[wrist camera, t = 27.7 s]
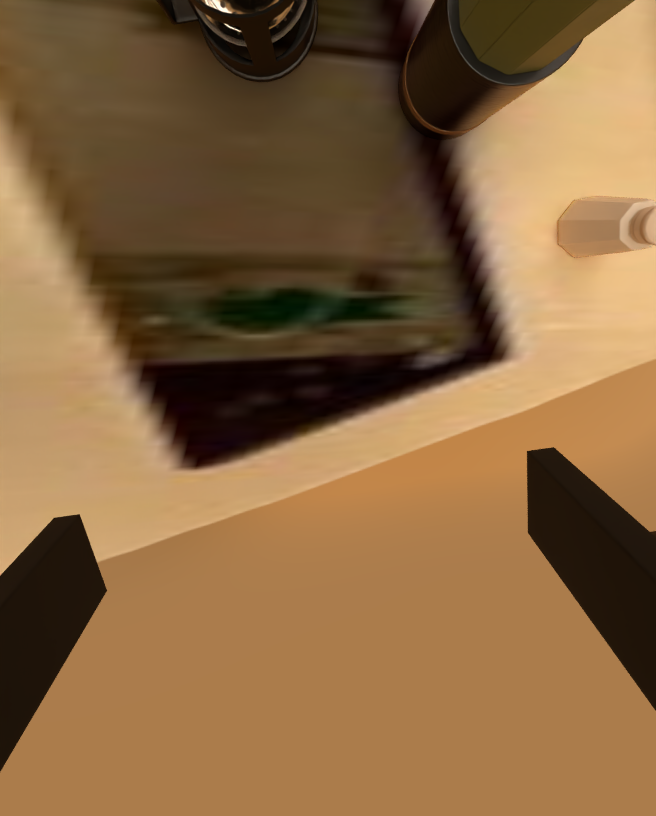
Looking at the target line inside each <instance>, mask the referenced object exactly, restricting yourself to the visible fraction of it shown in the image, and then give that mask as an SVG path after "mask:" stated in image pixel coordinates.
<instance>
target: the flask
mask: <svg viewBox="0 0 656 816" xmlns="http://www.w3.org/2000/svg"><path fill="white" fill-rule="evenodd" d="M583 39H584V38H583ZM583 39H582V40H583ZM582 40H580V41H579V42H578V43H576V44H575V45H574V46H572V47H571V48H570V49H568V50H567V51H566V52H564V53H563V54H562V55H560V56H559V57H558V58H556V59H555V60H553V61H552V62H551V63H549V64H548V65H547V66H545V67H544V68H543V69H541V70H537V71H531V72H524V73H518V74H512V75H506V74H504V73H502V72H500V71H498V70H496V69H494V68H492V67H490V66H488V65H486V64H484V63H482V62H481V61H479V60H478V59H477V57H476V55H475V54H474V52H473V50H472V48H471V47H470V45H469V43H468V42H467V40H466V38H465V36H464V35H463V33H462V31H461V28H460V18H459V0H435V1H434V3H433V5H432V7H431V9H430V11H429V13H428V15H427V17H426V19H425V21H424V23H423V25H422V27H421V29H420V30H419V32H418V34H417V36H416V37H415V39H414V41H413V43H412V45H411V47H410V49H409V51H408V53H407V56H406V58H405V61H404V63H403V65H402V68H401V72H400V77H399V85H398V88H399V99H400V104H401V107H402V110H403V112H404V114H405V116H406V118H407V120H408V121H409V122H410V124H411V125H412V126H413V127H414V128H415V129H416V130H417V131H419V132H420V133H421V134H423V135H425V136H427V137H430V138H433V139H440V140H446V139H452V138H456V137H459V136H461V135H463V134H465V133H467V132H468V131H470V130H472V129H473V128H475V127H477V126H478V125H480V124H481V123H483V122H484V121H485V120H486V119H487V118H489V117H490V116H491V115H493V114H494V113H496V112H497V111H499V110H500V109H502V108H503V107H505V106H506V105H507V104H509V103H510V102H512V101H513V100H515V99H516V98H518V97H519V96H520V95H522V94H523V93H525V92H526V91H528V90H529V89H531V88H532V87H534V86H535V85H536V84H538V83H539V82H541V81H542V80H544V79H545V78H547V77H548V76H549V75H551V74H552V73H554V72H555V71H556V70H558V69H559V68H560V67H561V66H562V65H563V64H565V63H566V62H567V61H568V60H569V58H570V57H571V56H572V55H573V54H574V53H575V51H576V50H577V48H578V47H579V45H580V44H581V42H582Z"/></svg>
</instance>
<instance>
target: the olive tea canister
mask: <svg viewBox="0 0 656 816" xmlns="http://www.w3.org/2000/svg"><path fill="white" fill-rule="evenodd" d="M633 1H634V0H459V18H460V28H461V31H462V33H463V35H464V36H465V38H466V40H467V42H468V43H469V45H470V47H471V48H472V50H473V52H474V54H475V55H476V57H477V59H478V60H479V61H481V62H482V63H484V64H486V65H488V66H490V67H492V68H494V69H496V70H498V71H500V72H502V73H504V74H506V75H512V74H518V73H524V72H531V71H537V70H541V69H543V68H544V67H545V66H547V65H548V64H549V63H551V62H552V61H553V60H555V59H556V58H558V57H559V56H560V55H562V54H563V53H564V52H566V51H567V50H568V49H570V48H571V47H572V46H574V45H575V44H576V43H578V42H579V41H580V40H582V39H583V38H585V37H586V36H587V35H589V34H590V33H591V32H593V31H594V30H595V29H597V28H598V27H599V26H601V25H602V24H603V23H605V22H606V21H607V20H609V19H610V18H611V17H613V16H614V15H616V14H617V13H618V12H620V11H621V10H622V9H624V8H625V7H626V6H628V5H629V4H630V3H632V2H633Z"/></svg>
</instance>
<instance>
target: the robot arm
mask: <svg viewBox="0 0 656 816" xmlns="http://www.w3.org/2000/svg"><path fill="white" fill-rule="evenodd" d="M527 486H528V487H527V490H528V533H529V535H530V536H531V538H532V539H533V541H534V542H535V543H536V545H537V546H538V547H539V549H540V550H541V552H542V553H543V554H544V556H545V557H546V559H547V560H548V561H549V563H550V564H551V565H552V567H553V568H554V570H555V571H556V573H557V574H558V575H559V577H560V578H561V579H562V581H563V582H564V584H565V585H566V586H567V588H568V589H569V590H570V592H571V593H572V595H573V596H574V597H575V599H576V600H577V602H578V603H579V604H580V606H581V607H582V609H583V610H584V612H585V613H586V614H587V616H588V617H589V618H590V620H591V621H592V623H593V624H594V625H595V627H596V628H597V630H598V631H599V632H600V634H601V635H602V637H603V638H604V639H605V641H606V642H607V643H608V645H609V646H610V647H611V649H612V650H613V652H614V653H615V655H616V656H617V657H618V659H619V660H620V661H621V663H622V664H623V666H624V667H625V668H626V670H627V671H628V673H629V674H630V676H631V677H632V678H633V680H634V681H635V682H636V684H637V685H638V687H639V688H640V689H641V691H642V692H643V694H644V695H645V696H646V698H647V699H648V701H649V702H650V703H651V705H652V706H653V708H654V709H655V710H656V531H654V532H649V531H648V530H647V529H646V528H645V527H644V526H642V525H641V524H640V523H639V522H638V521H637V520H635V519H634V518H633V517H632V516H631V515H630V514H629V513H628V512H627V511H625V510H624V509H623V508H622V507H621V506H620V505H619V504H617V503H616V502H615V501H614V500H613V499H612V498H611V497H609V496H608V495H607V494H606V493H605V492H604V491H603V490H601V489H600V488H599V487H598V486H597V485H596V484H595V483H594V482H593V481H591V480H590V479H589V478H588V477H587V476H586V475H585V474H583V473H582V472H581V471H580V470H579V469H578V468H577V467H576V466H574V465H573V464H572V463H571V462H570V461H568V459H566V458H565V457H564V456H563V455H562V454H561V453H559V451H557V450H556V449H555V448H554V447H553V448H546V449H539V450H531V451H527ZM106 591H107V589H106V587H105V584H104V581H103V578H102V576H101V573H100V570H99V567H98V564H97V562H96V559H95V556H94V553H93V550H92V548H91V545H90V542H89V539H88V537H87V534H86V531H85V528H84V525H83V523H82V520H81V517H80V514H78V515H71V516H64V517H57V518H54V519H53V520H52V521H51V522H50V523H49V524H48V525H47V526H46V527H45V528H44V529H43V530H42V531H41V532H40V534H39V535H38V536H37V537H36V538H35V539H34V540H33V541H32V542H31V543H30V544H29V545H28V546H27V548H26V549H25V550H24V551H23V552H22V553H21V554H20V555H19V556H18V557H17V558H16V559H15V560H14V562H13V563H12V564H11V565H10V566H9V567H8V568H7V569H6V570H5V571H4V572H3V573H2V574H1V576H0V771H1V769H2V768H3V766H4V764H5V763H6V761H7V759H8V758H9V756H10V754H11V753H12V751H13V749H14V748H15V746H16V744H17V742H18V741H19V739H20V737H21V736H22V734H23V732H24V731H25V729H26V727H27V725H28V724H29V722H30V720H31V719H32V717H33V715H34V713H35V712H36V710H37V708H38V707H39V705H40V703H41V702H42V700H43V698H44V696H45V695H46V693H47V692H48V690H49V688H50V686H51V685H52V683H53V681H54V680H55V678H56V676H57V674H58V673H59V671H60V669H61V668H62V666H63V664H64V663H65V661H66V659H67V658H68V656H69V654H70V652H71V651H72V649H73V647H74V646H75V644H76V642H77V641H78V639H79V637H80V636H81V634H82V632H83V630H84V629H85V627H86V625H87V623H88V622H89V620H90V618H91V617H92V615H93V613H94V611H95V610H96V608H97V607H98V605H99V603H100V602H101V600H102V598H103V596H104V595H105V593H106Z"/></svg>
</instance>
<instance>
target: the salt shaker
mask: <svg viewBox="0 0 656 816" xmlns="http://www.w3.org/2000/svg"><path fill="white" fill-rule="evenodd" d="M558 244H559V245H560V246H561V247H562V248H563V249H565V250H566V251H567V252H568V253H569V254H571V255H572V256H573V257H574V258H578V257H586V256H595V255H603V254H612V253H620V252H628V251H634V250H640V249H645V248H650V247H652V245H656V202H655V201H654V200H651V199H640V198H624V197H607V196H594V197H589V198H583V199H578V200H574V201H573V202H572V204H571V205H570V206H569V207H568V209H567V210H566V211H565V212H564V214H563V215H562V216H561V217H560V219H559V220H558Z"/></svg>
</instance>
